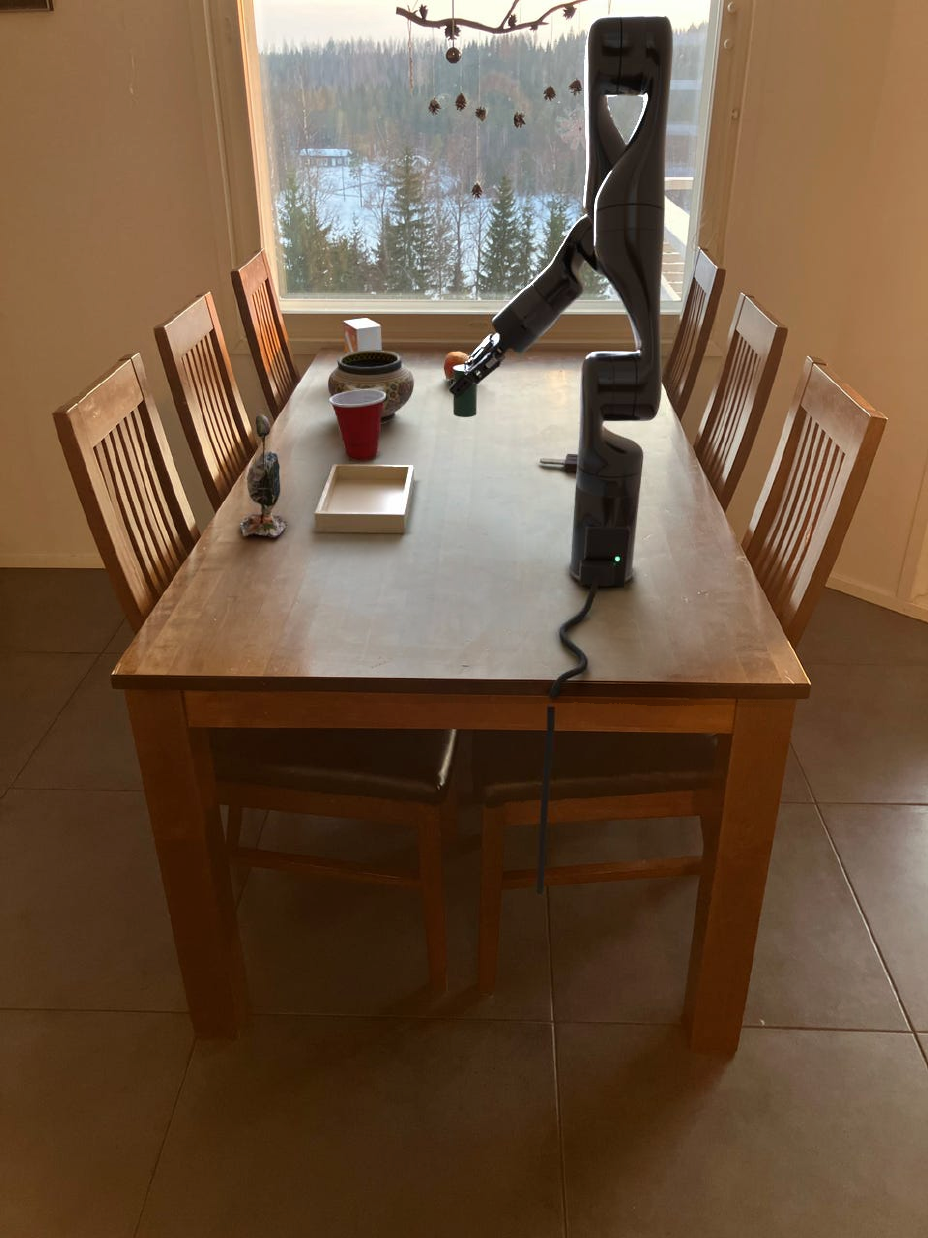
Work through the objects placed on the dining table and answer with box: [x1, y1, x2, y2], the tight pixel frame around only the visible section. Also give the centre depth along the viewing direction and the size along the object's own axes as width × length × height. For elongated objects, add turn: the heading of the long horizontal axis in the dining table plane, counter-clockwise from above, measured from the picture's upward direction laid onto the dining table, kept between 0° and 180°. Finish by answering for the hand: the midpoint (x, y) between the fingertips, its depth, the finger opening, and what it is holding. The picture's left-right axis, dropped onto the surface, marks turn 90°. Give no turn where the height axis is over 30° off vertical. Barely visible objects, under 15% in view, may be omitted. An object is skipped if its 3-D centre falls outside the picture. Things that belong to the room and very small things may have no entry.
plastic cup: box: [328, 389, 386, 461], centre depth 188 cm, size 11×11×12 cm
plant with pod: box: [239, 413, 288, 538], centre depth 157 cm, size 8×11×20 cm
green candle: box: [452, 363, 478, 418], centre depth 168 cm, size 4×4×9 cm
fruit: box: [443, 351, 470, 386], centre depth 231 cm, size 8×8×8 cm
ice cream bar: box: [539, 453, 578, 473], centre depth 185 cm, size 5×2×15 cm
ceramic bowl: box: [327, 349, 415, 425], centre depth 206 cm, size 24×18×15 cm
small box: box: [343, 317, 383, 354], centre depth 231 cm, size 8×6×13 cm
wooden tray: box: [314, 463, 415, 534], centre depth 169 cm, size 22×15×3 cm
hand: (453, 389), depth 168 cm, fingers closed on green candle, 4 cm apart
